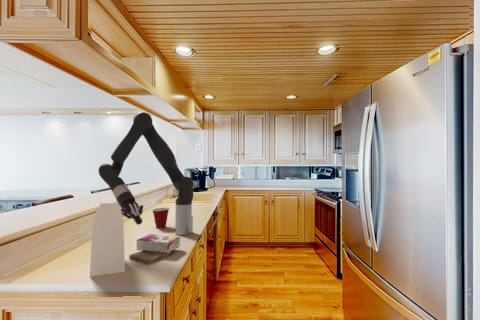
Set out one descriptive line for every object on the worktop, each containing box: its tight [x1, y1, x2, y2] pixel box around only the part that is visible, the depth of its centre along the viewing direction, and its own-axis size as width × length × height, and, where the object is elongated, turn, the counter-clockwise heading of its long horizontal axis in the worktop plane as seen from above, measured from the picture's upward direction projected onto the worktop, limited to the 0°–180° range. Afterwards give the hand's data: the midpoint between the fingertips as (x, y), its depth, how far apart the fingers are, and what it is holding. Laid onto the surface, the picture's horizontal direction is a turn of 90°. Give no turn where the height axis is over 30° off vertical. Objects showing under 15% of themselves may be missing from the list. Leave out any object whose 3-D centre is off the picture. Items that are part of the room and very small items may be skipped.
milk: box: [89, 201, 126, 278], centre depth 108 cm, size 12×12×26 cm
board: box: [128, 250, 174, 265], centre depth 122 cm, size 14×12×2 cm
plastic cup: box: [151, 207, 170, 229], centre depth 174 cm, size 11×11×12 cm
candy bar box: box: [136, 233, 181, 253], centre depth 128 cm, size 11×5×16 cm
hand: (140, 223), depth 130 cm, fingers closed
